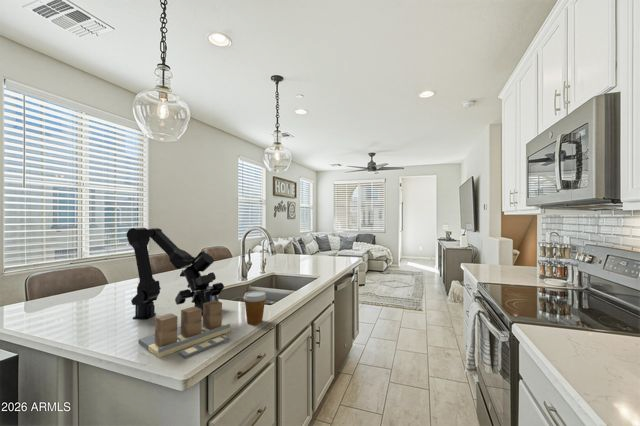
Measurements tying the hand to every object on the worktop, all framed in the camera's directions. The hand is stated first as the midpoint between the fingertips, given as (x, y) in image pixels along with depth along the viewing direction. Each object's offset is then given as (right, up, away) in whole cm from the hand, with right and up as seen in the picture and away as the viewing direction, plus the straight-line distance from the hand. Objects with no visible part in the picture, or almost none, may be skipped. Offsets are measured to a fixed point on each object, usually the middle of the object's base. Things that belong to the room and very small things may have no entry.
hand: (208, 310), depth 111 cm
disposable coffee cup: (+16, -8, +8) cm, 20 cm away
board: (-5, -7, -8) cm, 12 cm away
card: (+5, -7, -15) cm, 17 cm away
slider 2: (+2, -5, -2) cm, 6 cm away
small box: (-9, -8, +21) cm, 24 cm away
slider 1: (-8, -5, -17) cm, 19 cm away
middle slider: (-3, -5, -9) cm, 11 cm away
